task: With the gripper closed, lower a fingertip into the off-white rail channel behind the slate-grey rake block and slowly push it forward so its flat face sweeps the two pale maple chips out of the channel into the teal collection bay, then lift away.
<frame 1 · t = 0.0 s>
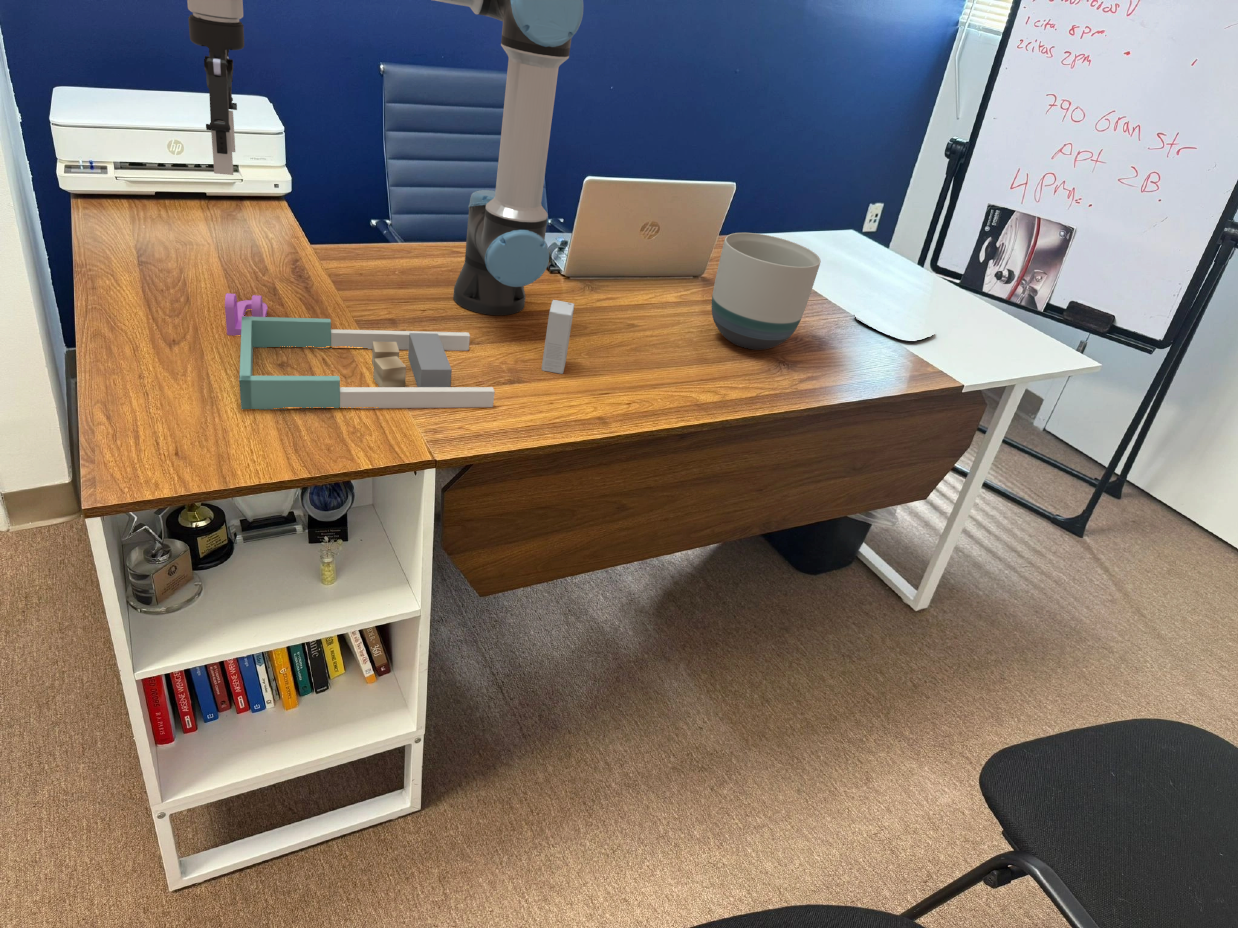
hand: (225, 162, 137), 28 cm above the table, fingers open, 13 cm apart
planter: (746, 343, 187), on the table
channel: (410, 375, 146), on the table
bracket: (248, 322, 153), on the table
chip b: (389, 383, 143), on the table
chip a: (385, 367, 147), on the table
skincare box: (553, 367, 160), on the table
bay: (290, 374, 139), on the table
rake block: (428, 376, 148), on the table
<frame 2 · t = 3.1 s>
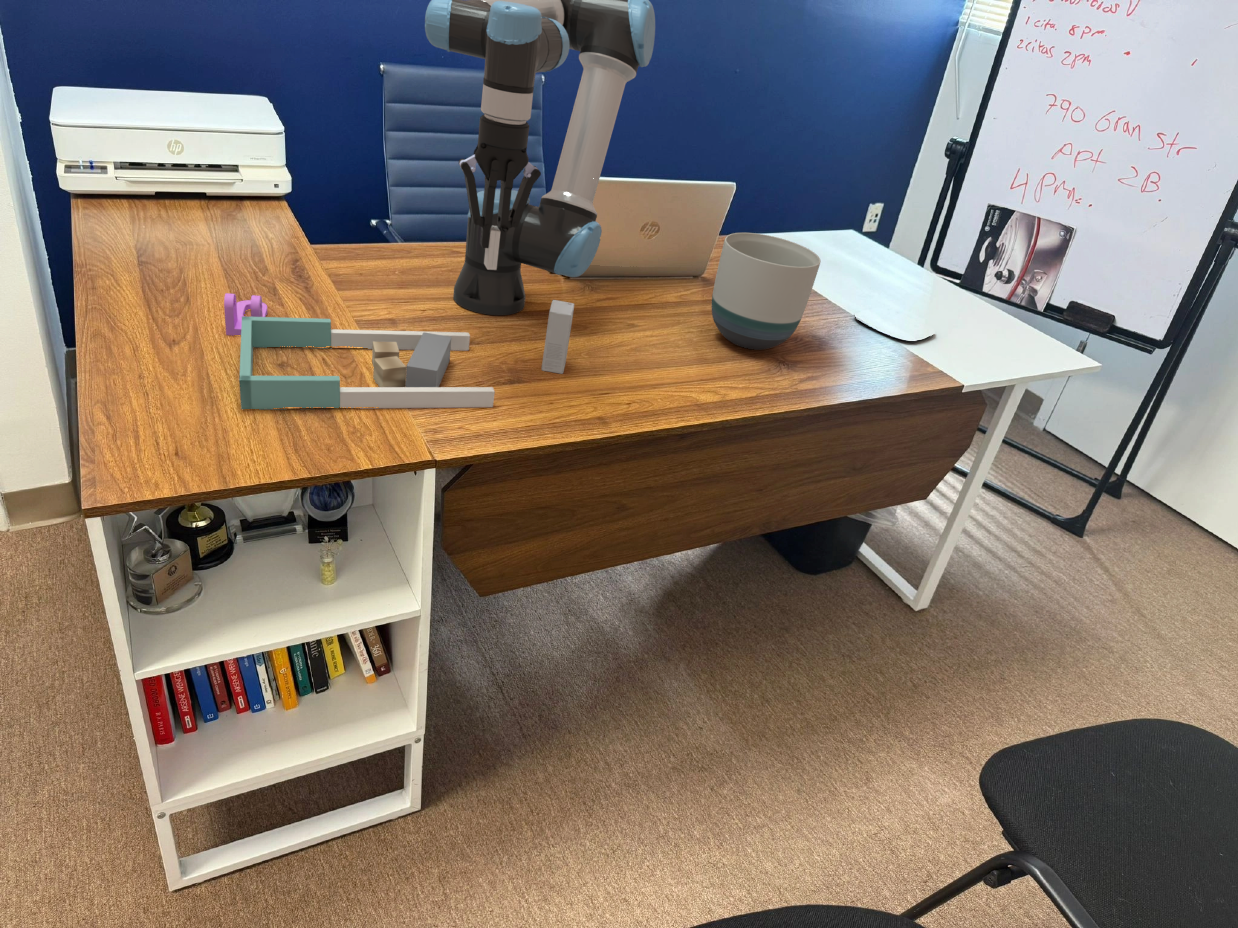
hand: (490, 266, 140), 20 cm above the table, fingers closed
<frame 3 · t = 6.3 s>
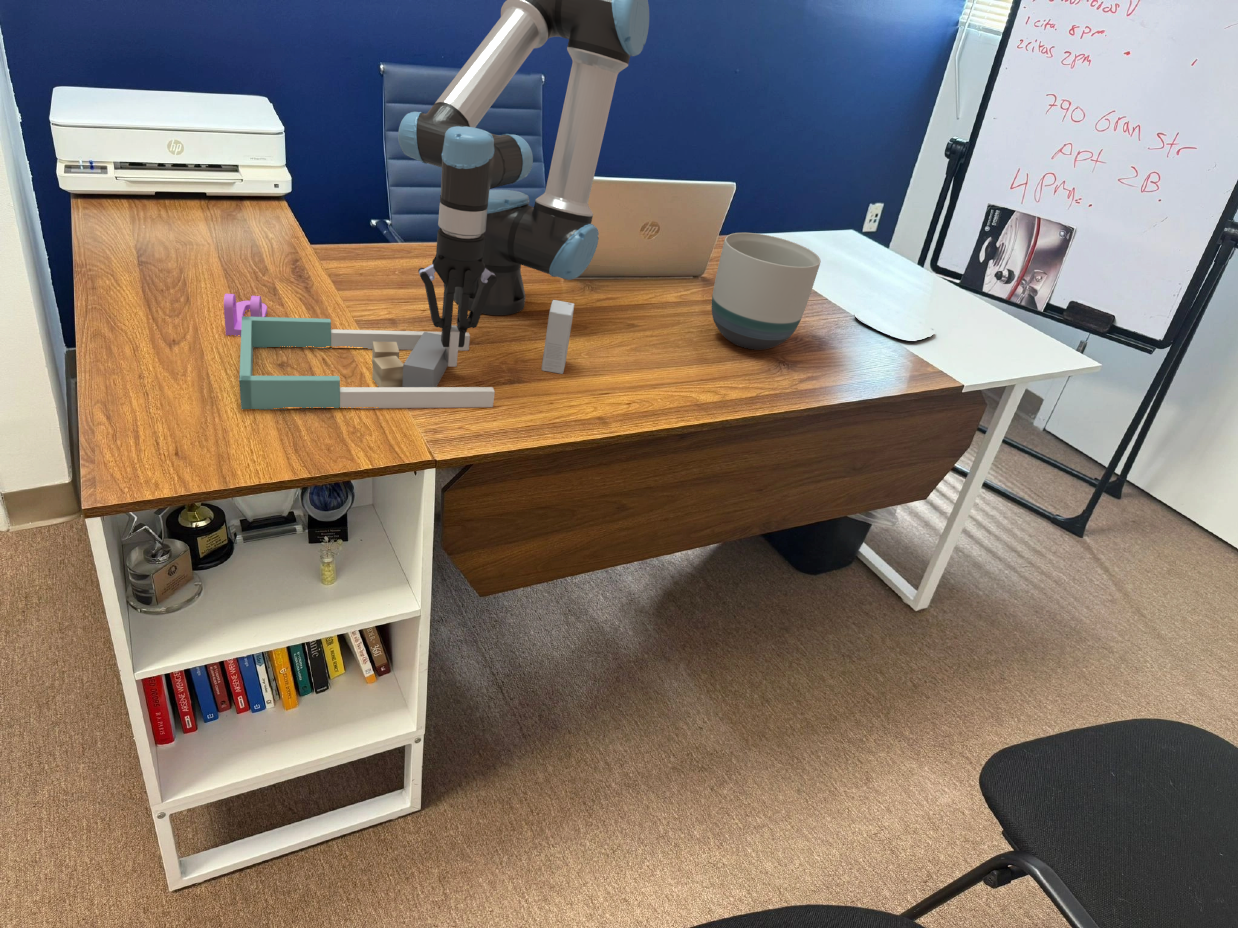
hand: (451, 362, 148), 2 cm above the table, fingers closed
chip b: (388, 383, 143), on the table, touching rake block
rake block: (427, 375, 148), on the table, touching chip b, gripper
everything else where it was.
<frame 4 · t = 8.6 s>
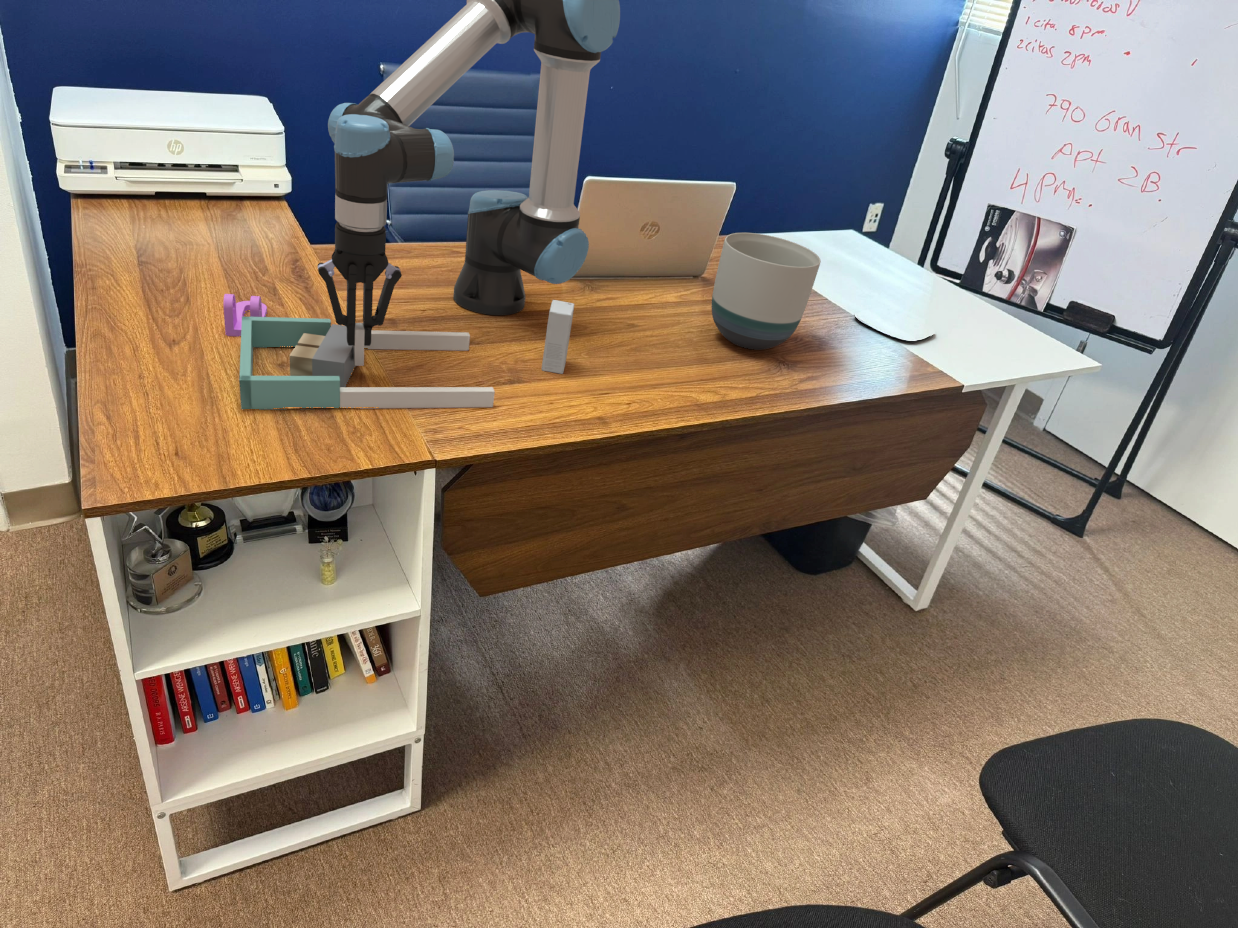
hand: (358, 361, 142), 2 cm above the table, fingers closed
chip b: (305, 373, 140), on the table
chip a: (313, 360, 145), on the table
rake block: (338, 369, 144), on the table, touching gripper
everything else where it was.
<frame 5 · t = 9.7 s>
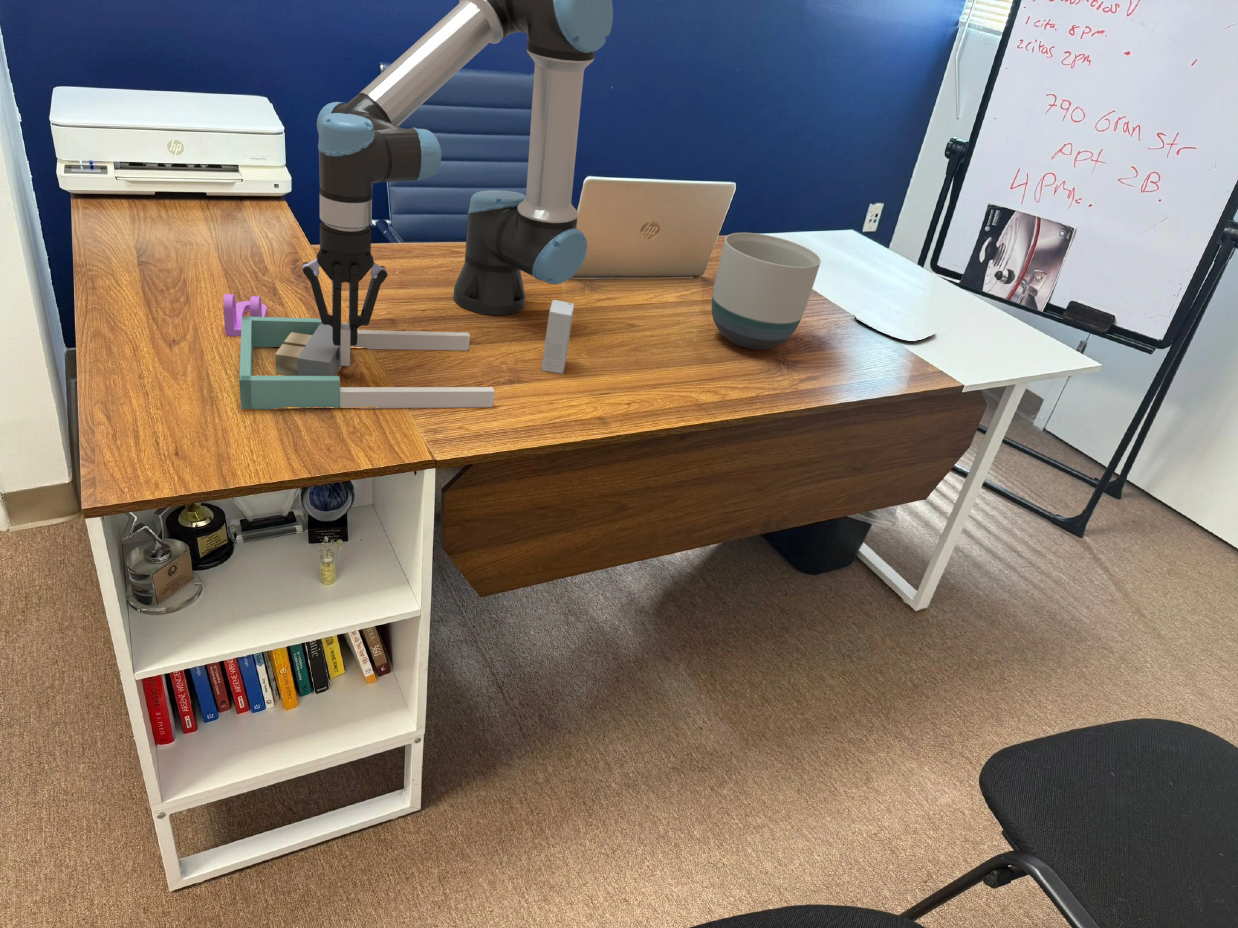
hand: (344, 362, 141), 2 cm above the table, fingers closed
chip b: (292, 372, 140), on the table, touching rake block
chip a: (300, 360, 144), on the table
rake block: (324, 369, 143), on the table, touching chip b
everything else where it was.
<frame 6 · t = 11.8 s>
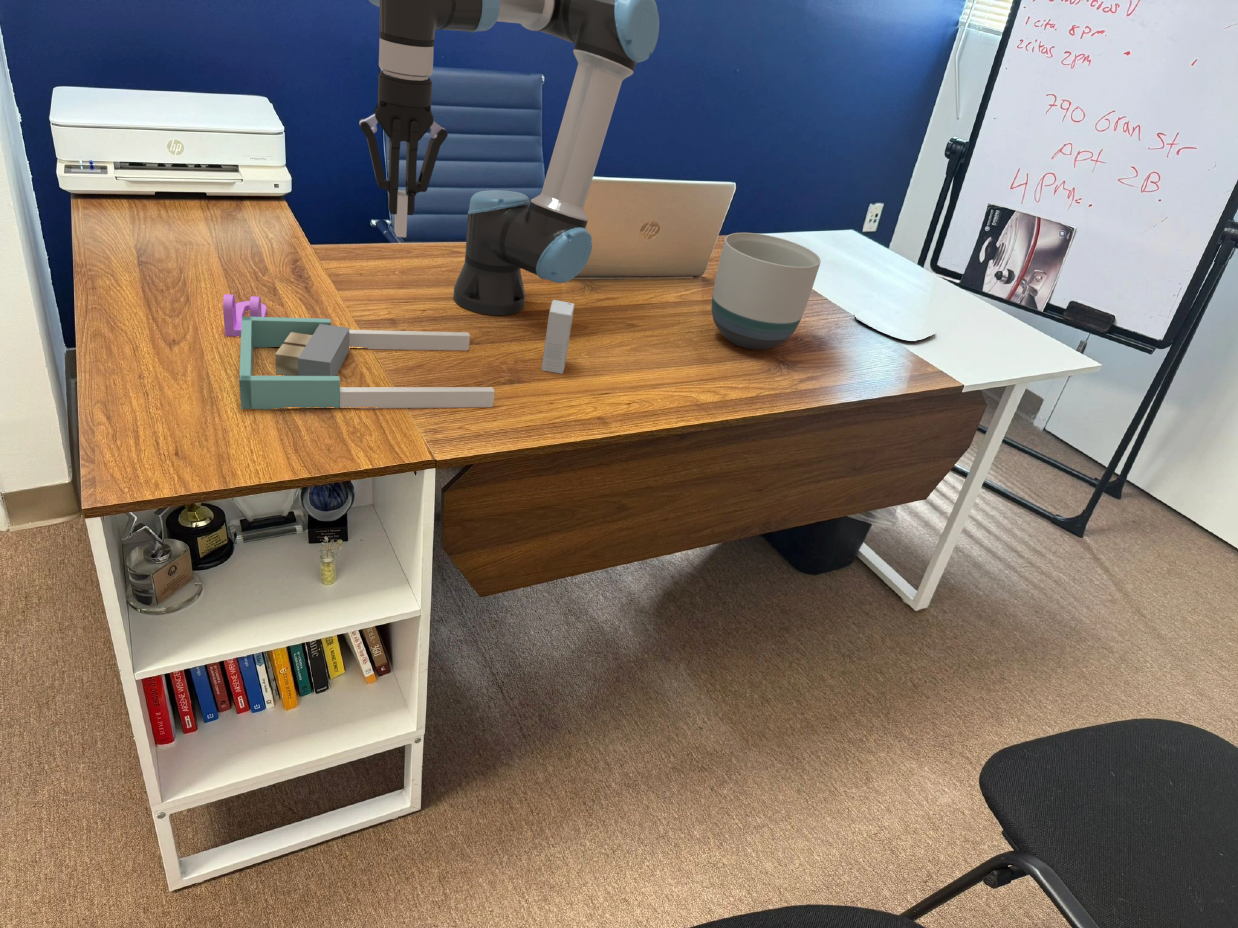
hand: (400, 234, 134), 24 cm above the table, fingers closed
chip b: (292, 372, 140), on the table
rake block: (324, 369, 143), on the table
everything else where it was.
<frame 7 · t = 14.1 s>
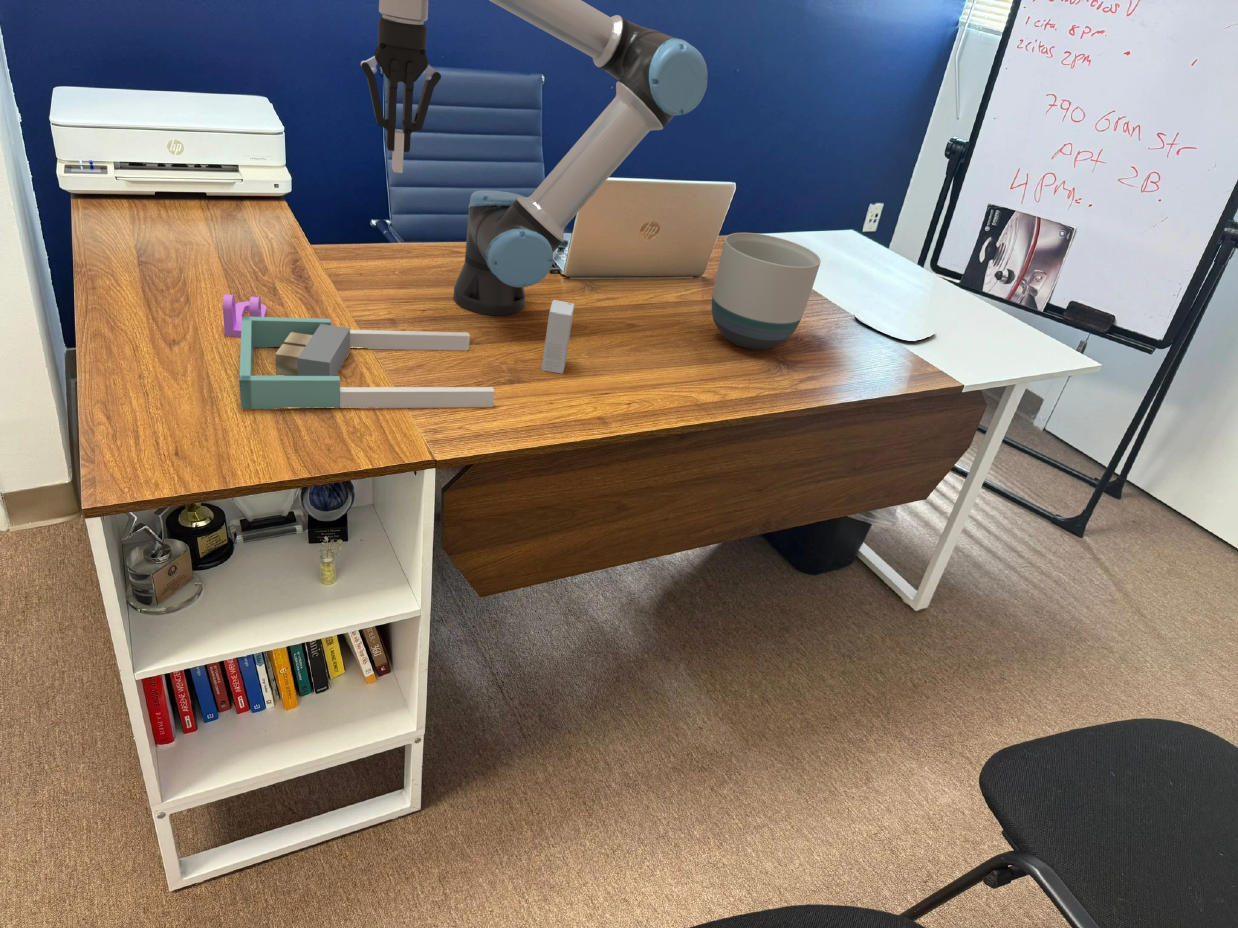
hand: (397, 170, 146), 29 cm above the table, fingers closed
nothing on the table moved.
at the end: rake block inside the target area (4.4 cm from its centre), on the table; chip a inside the target area (5.9 cm from its centre), on the table; chip b inside the target area (1.0 cm from its centre), on the table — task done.
